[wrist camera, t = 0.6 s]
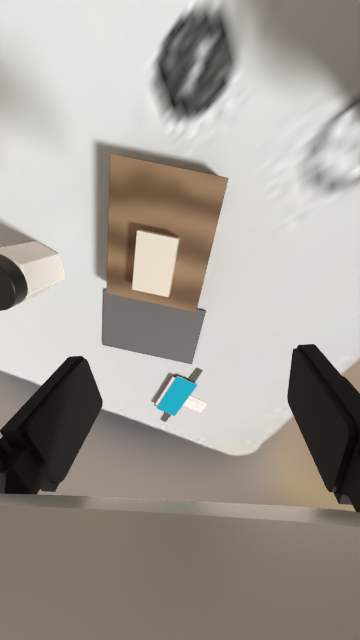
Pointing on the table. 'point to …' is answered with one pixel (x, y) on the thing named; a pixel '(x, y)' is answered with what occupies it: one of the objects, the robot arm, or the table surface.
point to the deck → (162, 224)
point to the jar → (27, 272)
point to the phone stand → (179, 395)
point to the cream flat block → (154, 262)
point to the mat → (151, 328)
